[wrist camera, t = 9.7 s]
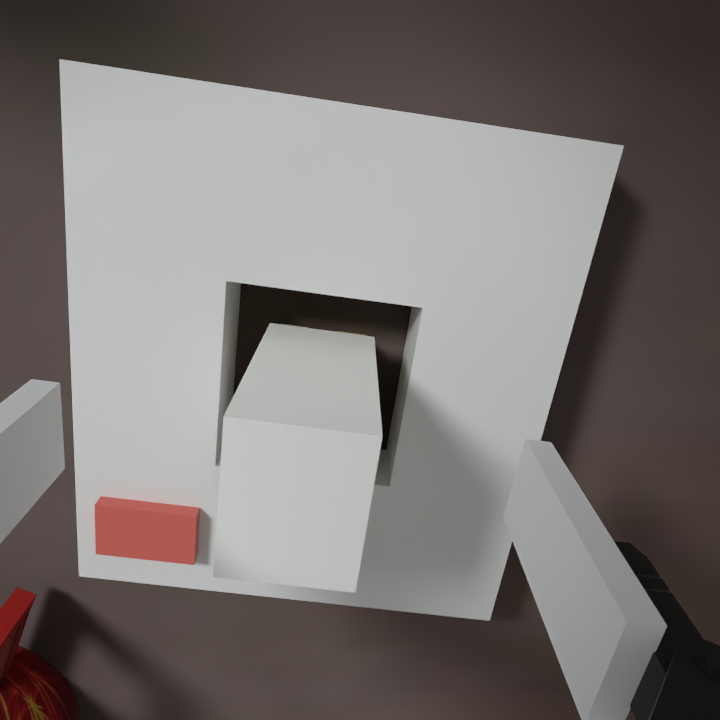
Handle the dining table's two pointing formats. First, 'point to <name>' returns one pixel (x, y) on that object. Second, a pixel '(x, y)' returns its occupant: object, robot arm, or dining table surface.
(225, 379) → the socket
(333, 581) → the plug
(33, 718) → the mug
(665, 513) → the dining table surface
